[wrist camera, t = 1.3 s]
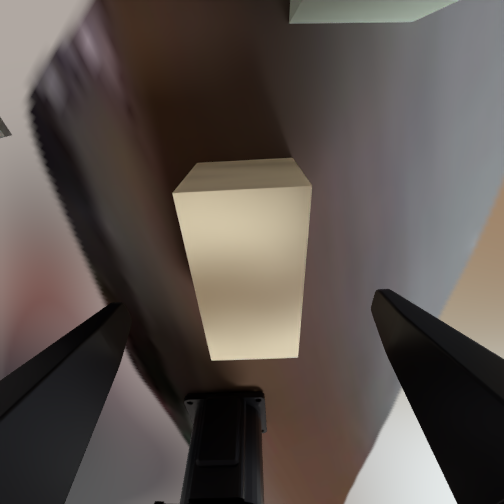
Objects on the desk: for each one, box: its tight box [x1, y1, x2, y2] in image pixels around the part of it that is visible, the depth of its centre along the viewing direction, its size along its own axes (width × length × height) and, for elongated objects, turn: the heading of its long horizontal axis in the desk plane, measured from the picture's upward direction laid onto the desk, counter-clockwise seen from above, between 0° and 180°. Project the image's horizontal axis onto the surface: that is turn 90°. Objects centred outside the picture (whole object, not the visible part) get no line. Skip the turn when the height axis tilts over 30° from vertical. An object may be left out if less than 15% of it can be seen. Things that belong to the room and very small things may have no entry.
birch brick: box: [172, 158, 312, 361], centre depth 11 cm, size 8×4×4 cm, turn 3°
